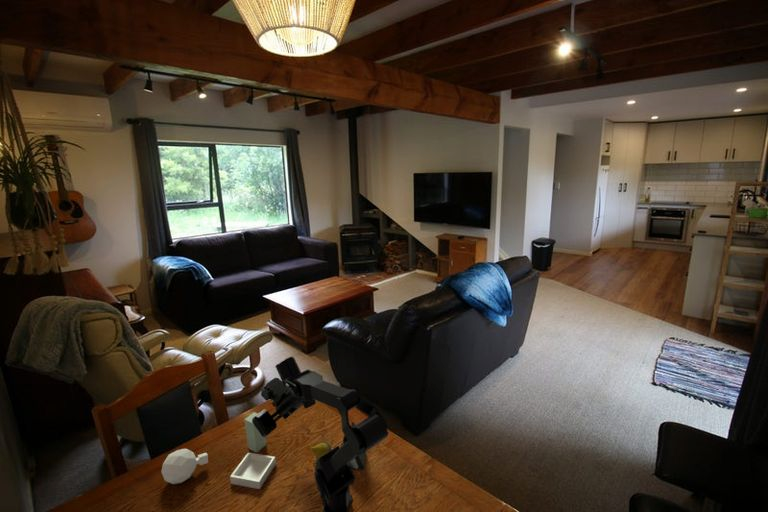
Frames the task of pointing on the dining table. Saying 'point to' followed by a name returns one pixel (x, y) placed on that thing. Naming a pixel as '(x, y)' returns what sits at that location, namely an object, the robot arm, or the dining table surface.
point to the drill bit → (321, 449)
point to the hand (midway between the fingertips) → (270, 419)
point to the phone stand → (358, 461)
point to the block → (253, 435)
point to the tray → (253, 470)
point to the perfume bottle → (181, 465)
